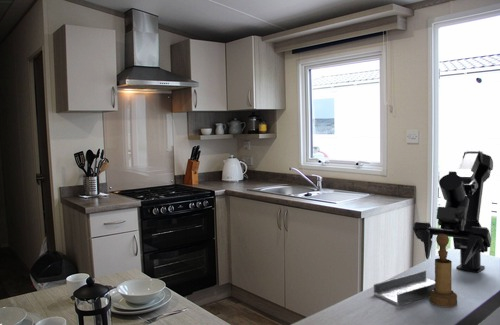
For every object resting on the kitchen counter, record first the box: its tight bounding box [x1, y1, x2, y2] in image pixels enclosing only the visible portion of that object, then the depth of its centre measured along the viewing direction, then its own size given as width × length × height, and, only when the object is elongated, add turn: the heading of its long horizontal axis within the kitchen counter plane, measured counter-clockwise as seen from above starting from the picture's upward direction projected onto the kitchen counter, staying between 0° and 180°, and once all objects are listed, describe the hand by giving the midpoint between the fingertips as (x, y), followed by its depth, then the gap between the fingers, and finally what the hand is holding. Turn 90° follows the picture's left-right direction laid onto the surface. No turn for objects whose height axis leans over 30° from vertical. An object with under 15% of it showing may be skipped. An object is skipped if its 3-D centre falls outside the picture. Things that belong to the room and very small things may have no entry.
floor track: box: [373, 270, 435, 307], centre depth 119 cm, size 20×9×3 cm, turn 117°
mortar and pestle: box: [429, 234, 458, 308], centre depth 111 cm, size 7×6×18 cm
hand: (445, 260), depth 112 cm, fingers open, 9 cm apart
